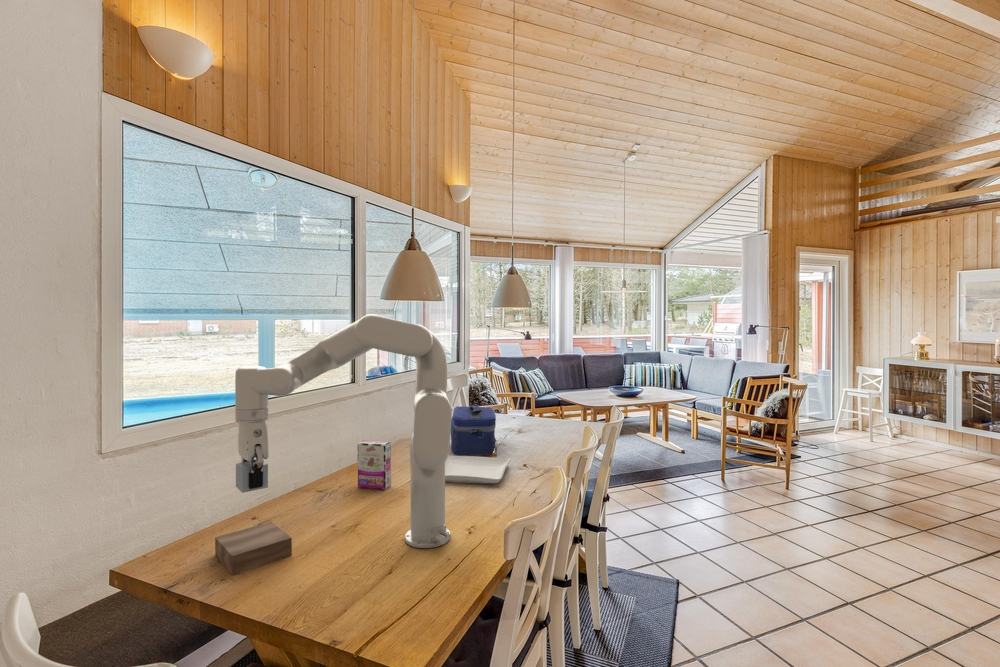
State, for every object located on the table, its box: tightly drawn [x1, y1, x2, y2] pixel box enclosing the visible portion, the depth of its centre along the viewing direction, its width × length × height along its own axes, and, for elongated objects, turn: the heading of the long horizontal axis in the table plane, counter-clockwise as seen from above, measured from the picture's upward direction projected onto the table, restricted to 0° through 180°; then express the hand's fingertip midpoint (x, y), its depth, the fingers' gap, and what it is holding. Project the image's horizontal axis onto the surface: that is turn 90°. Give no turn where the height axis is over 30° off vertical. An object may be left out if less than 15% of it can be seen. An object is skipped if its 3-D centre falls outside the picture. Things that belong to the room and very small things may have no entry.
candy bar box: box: [357, 440, 392, 491], centre depth 178 cm, size 11×5×16 cm, turn 76°
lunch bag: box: [450, 404, 497, 456], centre depth 231 cm, size 31×21×20 cm
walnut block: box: [214, 521, 293, 576], centre depth 126 cm, size 14×14×5 cm
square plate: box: [445, 455, 511, 485], centre depth 193 cm, size 27×27×4 cm
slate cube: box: [235, 461, 269, 494], centre depth 126 cm, size 6×6×6 cm
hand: (251, 483), depth 126 cm, fingers closed on slate cube, 6 cm apart
